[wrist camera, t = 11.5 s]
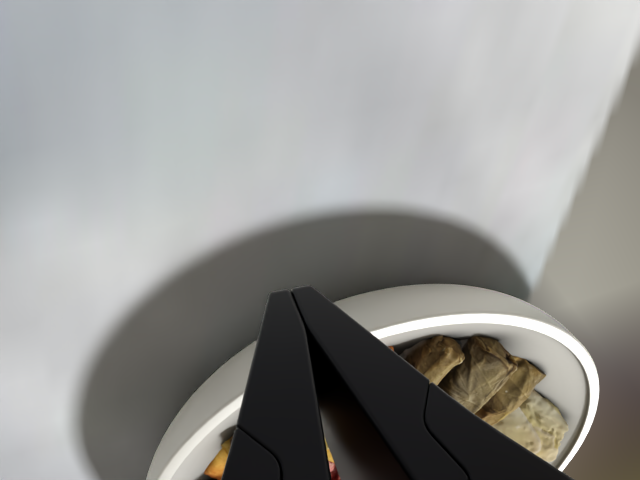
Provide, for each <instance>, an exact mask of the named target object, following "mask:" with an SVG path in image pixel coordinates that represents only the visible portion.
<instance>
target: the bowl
mask: <svg viewBox="0 0 640 480" xmlns="http://www.w3.org/2000/svg"><path fill="white" fill-rule="evenodd" d="M333 303H334V304H335V305H337V306H338V307H339V308H340V309H342V310H343V311H344V312H345V313H347V314H348V315H349V316H350V317H352V318H353V319H354V320H355V321H357V322H358V323H359V324H360V325H362V326H363V327H364V328H365V329H367V330H368V331H369V332H370V333H372V334H373V335H374V336H375V337H377V338H378V339H379V340H380V341H382V342H383V343H384V344H385V345H387V346H388V347H389V348H390V349H392V350H393V351H394V352H395V353H397V354H398V355H399V356H400V357H402V358H403V359H404V360H405V361H407V362H408V363H409V364H410V365H412V366H413V367H414V368H415V369H417V370H418V371H419V372H420V373H422V374H423V375H424V376H425V377H427V378H428V379H429V380H430V383H431V382H433V383H434V384H436V385H437V386H438V387H439V388H441V389H442V390H443V391H444V392H446V393H447V394H448V395H450V396H451V397H452V398H454V399H455V400H456V401H458V402H459V403H460V404H462V405H463V406H464V407H465V408H467V409H468V410H469V411H471V412H472V413H474V414H475V415H476V416H478V417H479V418H481V419H482V420H484V421H485V422H487V423H488V424H490V425H491V426H493V427H494V428H496V429H497V430H498V431H500V432H501V433H503V434H505V435H506V436H508V437H509V438H511V439H512V440H514V441H515V442H517V443H518V444H520V445H521V446H523V447H525V448H526V449H528V450H529V451H531V452H532V453H534V454H535V455H537V456H538V457H540V458H542V459H543V460H545V461H546V462H548V463H549V464H551V465H552V466H554V467H555V468H557V469H558V470H560V471H563V469H564V468H565V467H566V466H567V464H568V463H569V462H570V460H571V459H572V458H573V456H574V455H575V453H576V452H577V451H578V449H579V447H580V446H581V444H582V443H583V441H584V439H585V437H586V435H587V433H588V431H589V429H590V427H591V424H592V422H593V419H594V416H595V413H596V409H597V405H598V398H599V379H598V374H597V370H596V366H595V364H594V361H593V359H592V357H591V356H590V354H589V352H588V351H587V350H586V348H585V347H584V346H583V345H582V344H581V343H580V341H579V340H577V338H576V337H575V336H574V335H573V334H572V333H571V332H570V331H569V330H567V328H565V327H564V326H563V325H562V324H561V323H560V322H558V321H557V320H556V319H554V318H553V317H552V316H550V315H549V314H547V313H546V312H544V311H543V310H541V309H539V308H537V307H536V306H534V305H532V304H530V303H528V302H526V301H523V300H521V299H518V298H516V297H513V296H511V295H508V294H504V293H501V292H498V291H494V290H490V289H485V288H480V287H474V286H467V285H456V284H417V285H407V286H399V287H392V288H386V289H381V290H376V291H371V292H367V293H363V294H359V295H355V296H352V297H348V298H345V299H342V300H339V301H336V302H333ZM256 343H257V340H256V341H254V342H253V343H251V344H250V345H248V346H247V347H245V348H244V349H243V350H241V351H240V352H239V353H237V354H236V355H235V356H233V357H232V358H231V359H229V360H228V361H227V362H226V363H225V364H223V365H222V366H221V367H220V368H219V369H218V370H216V371H215V372H214V373H213V374H212V375H211V376H210V377H209V378H208V379H207V380H206V381H205V382H204V383H203V384H202V385H201V386H200V387H199V388H198V389H197V390H196V391H195V393H194V394H193V395H192V396H191V397H190V398H189V400H188V401H187V402H186V403H185V405H184V406H183V407H182V408H181V410H180V411H179V412H178V414H177V415H176V417H175V418H174V420H173V421H172V422H171V424H170V426H169V428H168V429H167V431H166V433H165V434H164V436H163V438H162V440H161V442H160V444H159V446H158V448H157V450H156V452H155V455H154V457H153V460H152V462H151V465H150V468H149V471H148V474H147V478H146V480H221V478H222V474H223V471H224V468H225V464H226V461H227V457H228V454H229V450H230V446H231V442H232V438H233V434H234V431H235V429H236V423H237V419H238V415H239V411H240V407H241V403H242V399H243V395H244V391H245V387H246V383H247V379H248V375H249V371H250V367H251V363H252V359H253V355H254V351H255V347H256ZM325 443H326V449H327V455H328V461H329V467H330V473H331V479H332V480H341V479H340V476H339V474H338V471H337V468H336V466H335V463H334V460H333V458H332V455H331V452H330V450H329V447H328V445H327V442H326V439H325Z"/></svg>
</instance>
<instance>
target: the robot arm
mask: <svg viewBox="0 0 640 480" xmlns="http://www.w3.org/2000/svg"><path fill="white" fill-rule="evenodd" d="M325 439H326V442H327V445H328V447H329V450H330V452H331V455H332V458H333V460H334V463H335V466H336V468H337V471H338V474H339V476H340V479H341V480H574V479H572V478H571V477H569V476H568V475H566V474H565V473H563V472H562V471H560V470H558V469H557V468H555V467H554V466H552V465H551V464H549V463H548V462H546V461H545V460H543V459H542V458H540V457H538V456H537V455H535V454H534V453H532V452H531V451H529V450H528V449H526V448H525V447H523V446H521V445H520V444H518V443H517V442H515V441H514V440H512V439H511V438H509V437H508V436H506V435H505V434H503V433H501V432H500V431H498V430H497V429H496V428H494V427H493V426H491V425H490V424H488V423H487V422H485V421H484V420H482V419H481V418H479V417H478V416H476V415H475V414H474V413H472V412H471V411H469V410H468V409H467V408H465V407H464V406H463V405H462V404H460V403H459V402H458V401H456V400H455V399H454V398H452V397H451V396H450V395H448V394H447V393H446V392H444V391H443V390H442V389H441V388H439V387H438V386H437V385H436V384H434V383H433V382H431V383H430V380H429V379H428V378H427V377H425V376H424V375H423V374H422V373H420V372H419V371H418V370H417V369H415V368H414V367H413V366H412V365H410V364H409V363H408V362H407V361H405V360H404V359H403V358H402V357H400V356H399V355H398V354H397V353H395V352H394V351H393V350H392V349H390V348H389V347H388V346H387V345H385V344H384V343H383V342H382V341H380V340H379V339H378V338H377V337H375V336H374V335H373V334H372V333H370V332H369V331H368V330H367V329H365V328H364V327H363V326H362V325H360V324H359V323H358V322H357V321H355V320H354V319H353V318H352V317H350V316H349V315H348V314H347V313H345V312H344V311H343V310H342V309H340V308H339V307H338V306H337V305H335V304H334V303H333V302H332V301H330V300H329V299H328V298H326V297H325V296H324V295H323V294H321V293H320V292H319V291H318V290H316V289H315V288H314V287H313V286H311V285H305V286H300V287H294V288H292V289H291V291H290V290H289V289H283V290H277V291H272V292H270V293H269V295H268V298H267V302H266V307H265V311H264V315H263V319H262V323H261V327H260V331H259V335H258V339H257V343H256V347H255V351H254V355H253V359H252V363H251V367H250V371H249V375H248V379H247V383H246V387H245V391H244V395H243V399H242V403H241V407H240V411H239V415H238V419H237V423H236V429H235V431H234V434H233V438H232V442H231V446H230V450H229V454H228V457H227V461H226V464H225V468H224V471H223V474H222V478H221V480H332V479H331V473H330V467H329V461H328V455H327V449H326V443H325Z"/></svg>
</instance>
